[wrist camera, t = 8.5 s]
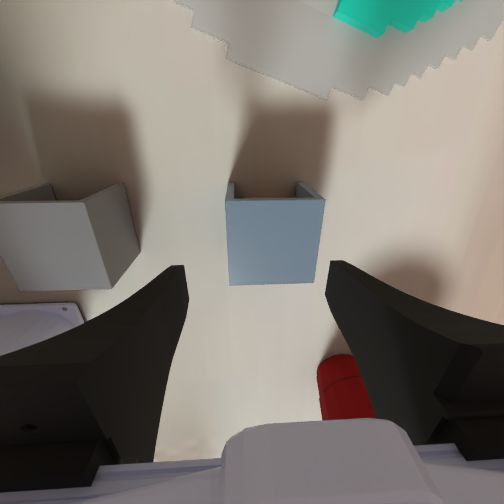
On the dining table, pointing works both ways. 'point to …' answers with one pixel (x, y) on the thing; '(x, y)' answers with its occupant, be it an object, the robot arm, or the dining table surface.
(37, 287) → the cover
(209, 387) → the dining table surface
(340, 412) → the plastic cup
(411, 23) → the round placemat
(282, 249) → the cover
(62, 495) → the robot arm
